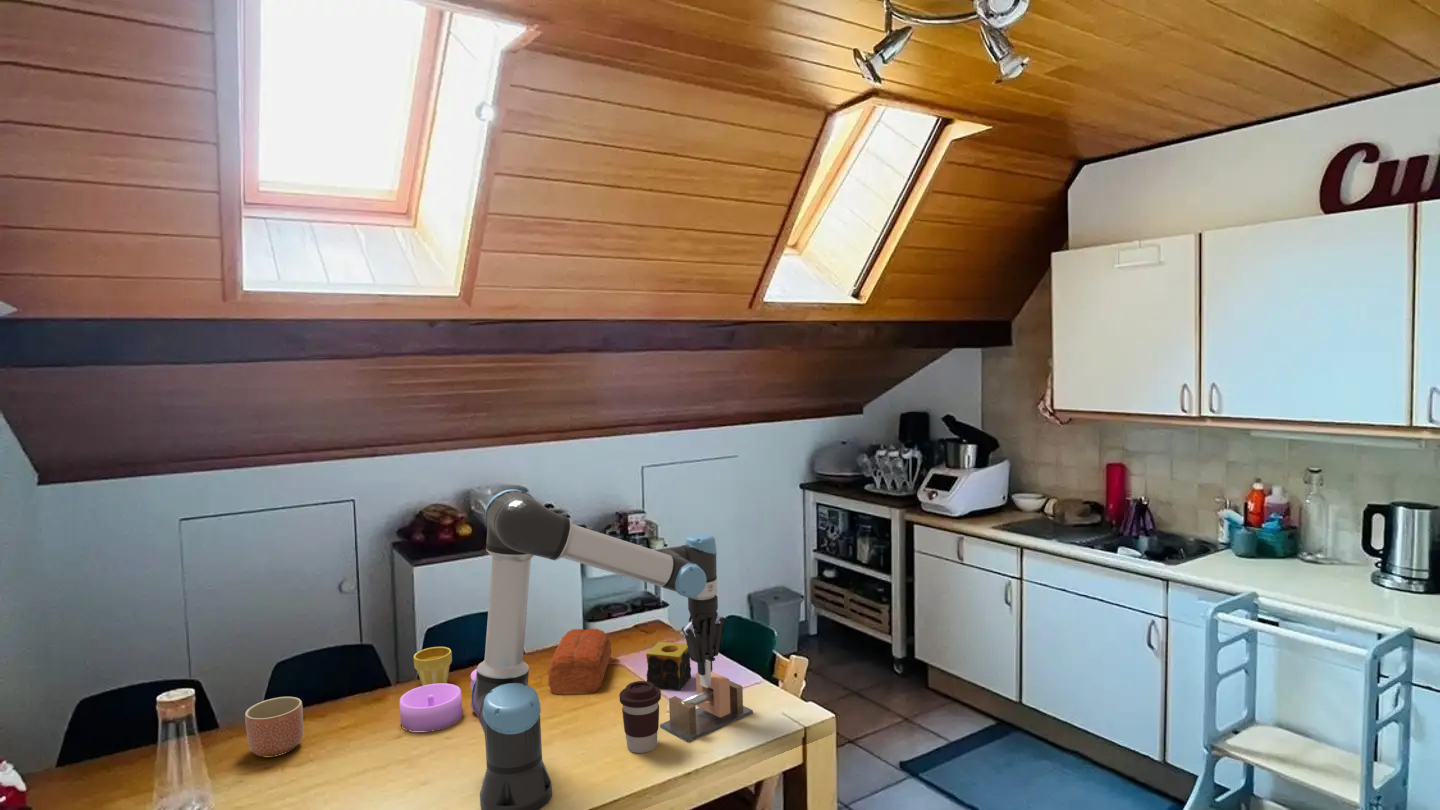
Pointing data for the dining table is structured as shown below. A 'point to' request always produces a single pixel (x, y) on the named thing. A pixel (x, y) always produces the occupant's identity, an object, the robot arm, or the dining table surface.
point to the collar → (716, 695)
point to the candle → (668, 665)
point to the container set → (432, 706)
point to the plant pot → (433, 665)
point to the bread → (579, 662)
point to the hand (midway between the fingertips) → (705, 685)
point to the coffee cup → (640, 715)
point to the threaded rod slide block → (702, 714)
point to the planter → (274, 725)
